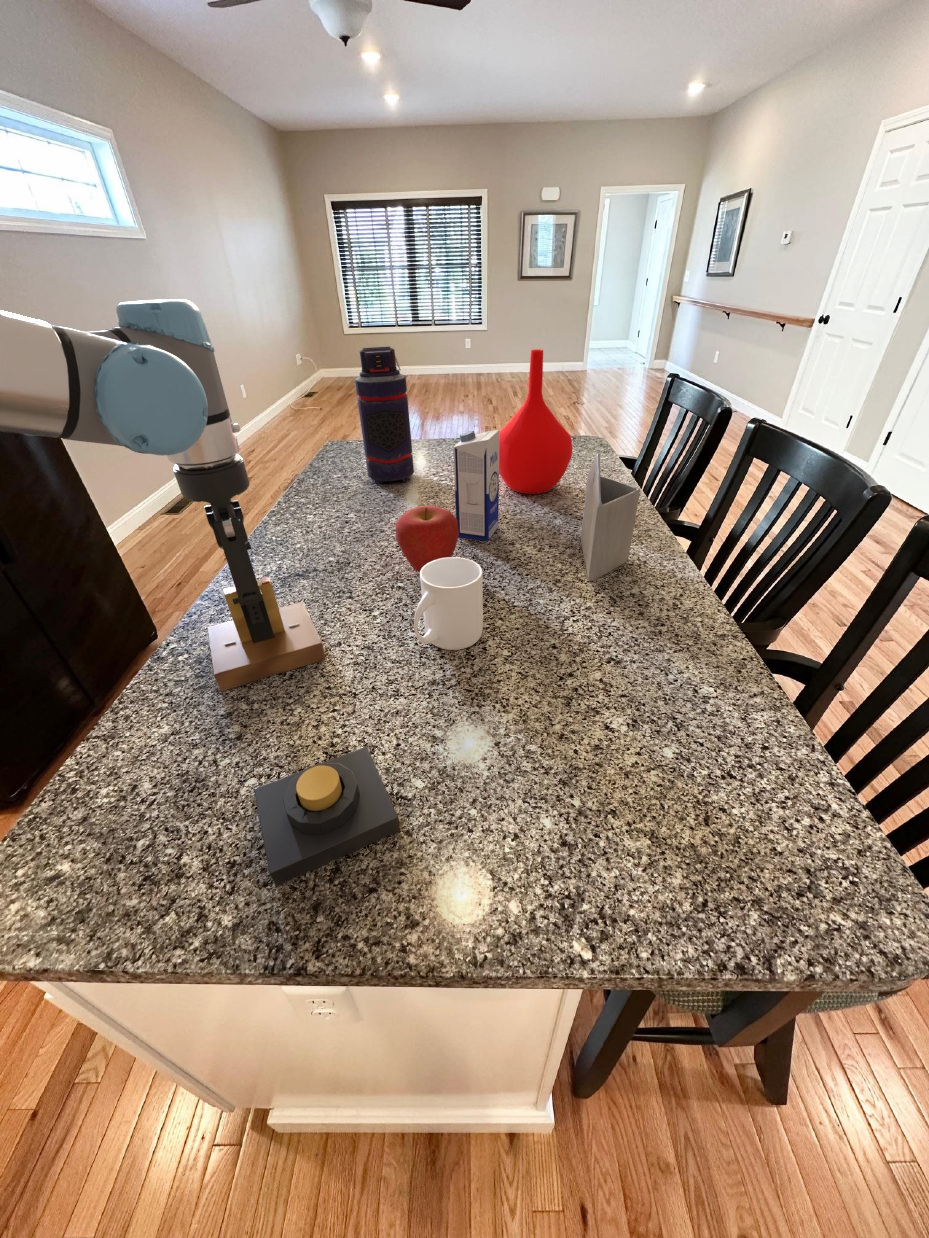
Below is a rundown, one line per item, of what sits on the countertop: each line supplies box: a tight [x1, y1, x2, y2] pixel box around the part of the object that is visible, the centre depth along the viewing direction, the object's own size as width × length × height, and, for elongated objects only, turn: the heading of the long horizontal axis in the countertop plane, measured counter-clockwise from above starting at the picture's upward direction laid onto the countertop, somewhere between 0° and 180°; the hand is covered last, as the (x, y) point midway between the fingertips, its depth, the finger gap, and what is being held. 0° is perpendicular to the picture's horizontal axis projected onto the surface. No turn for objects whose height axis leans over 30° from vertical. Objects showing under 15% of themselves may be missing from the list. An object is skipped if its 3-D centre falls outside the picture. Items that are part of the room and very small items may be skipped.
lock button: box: [296, 766, 342, 811], centre depth 49 cm, size 4×4×2 cm
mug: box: [413, 556, 484, 651], centre depth 72 cm, size 9×12×11 cm
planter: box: [579, 452, 641, 582], centre depth 89 cm, size 16×8×19 cm, turn 174°
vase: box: [499, 348, 573, 495], centre depth 117 cm, size 18×18×30 cm
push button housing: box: [253, 746, 401, 887], centre depth 51 cm, size 12×10×4 cm
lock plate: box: [206, 601, 326, 692], centre depth 74 cm, size 14×12×3 cm
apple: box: [394, 505, 459, 573], centre depth 89 cm, size 11×11×12 cm
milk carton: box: [452, 429, 500, 542], centre depth 99 cm, size 7×7×20 cm
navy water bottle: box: [354, 346, 415, 485], centre depth 126 cm, size 14×12×30 cm
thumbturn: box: [222, 576, 285, 643], centre depth 70 cm, size 6×2×8 cm, turn 117°
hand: (256, 615), depth 71 cm, fingers open, 12 cm apart
